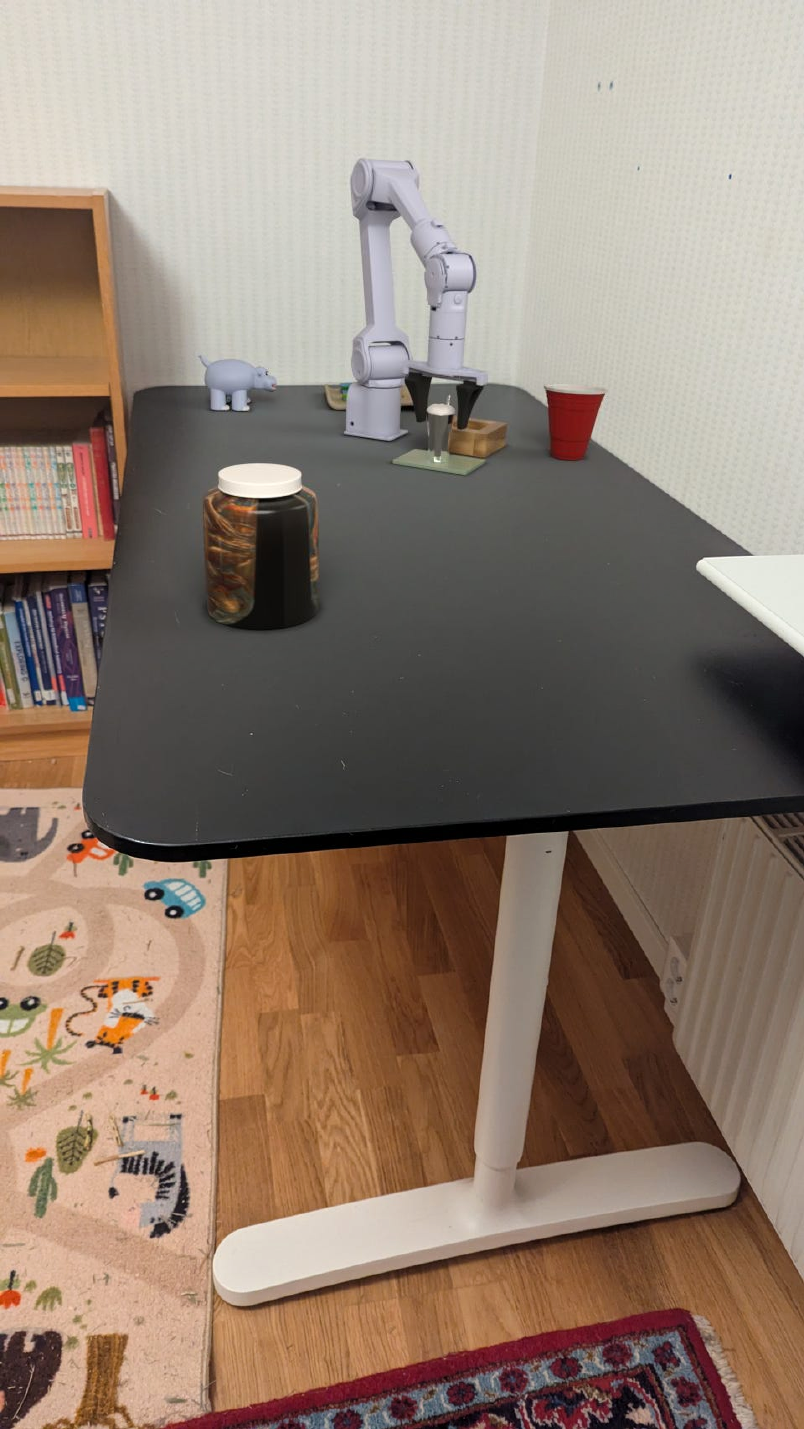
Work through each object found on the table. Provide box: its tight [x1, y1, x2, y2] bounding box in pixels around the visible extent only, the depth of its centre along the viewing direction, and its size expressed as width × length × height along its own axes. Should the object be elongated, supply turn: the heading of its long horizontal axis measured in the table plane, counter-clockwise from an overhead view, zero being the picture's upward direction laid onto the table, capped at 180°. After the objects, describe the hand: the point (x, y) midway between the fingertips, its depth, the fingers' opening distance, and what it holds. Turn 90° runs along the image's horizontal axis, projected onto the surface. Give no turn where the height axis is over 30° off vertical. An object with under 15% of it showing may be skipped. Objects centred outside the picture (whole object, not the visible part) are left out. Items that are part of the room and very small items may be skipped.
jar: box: [202, 462, 320, 630], centre depth 107 cm, size 12×12×15 cm
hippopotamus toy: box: [197, 354, 278, 412], centre depth 199 cm, size 11×15×10 cm
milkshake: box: [426, 394, 456, 463], centre depth 166 cm, size 4×5×10 cm
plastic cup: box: [543, 383, 609, 461], centre depth 174 cm, size 11×11×12 cm
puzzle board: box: [323, 381, 414, 411], centre depth 209 cm, size 18×19×3 cm
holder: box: [449, 415, 508, 459], centre depth 178 cm, size 10×10×4 cm
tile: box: [392, 448, 486, 476], centre depth 169 cm, size 13×9×1 cm
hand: (441, 425), depth 166 cm, fingers open, 7 cm apart
